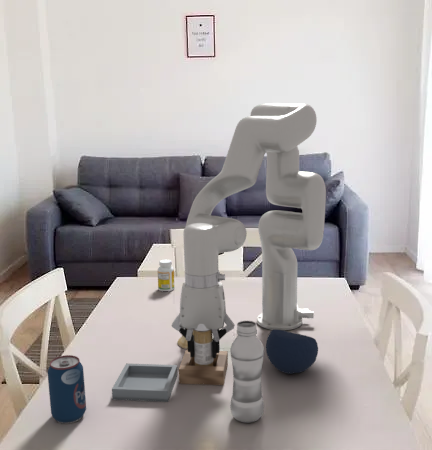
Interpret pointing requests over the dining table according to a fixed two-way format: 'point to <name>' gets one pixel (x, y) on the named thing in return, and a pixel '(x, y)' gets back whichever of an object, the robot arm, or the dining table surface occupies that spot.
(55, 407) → the soda can
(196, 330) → the sprinkles bottle
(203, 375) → the holder block
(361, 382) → the dining table surface
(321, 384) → the dining table surface
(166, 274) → the supplement bottle
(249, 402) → the plastic bottle
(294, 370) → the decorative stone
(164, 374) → the tray
